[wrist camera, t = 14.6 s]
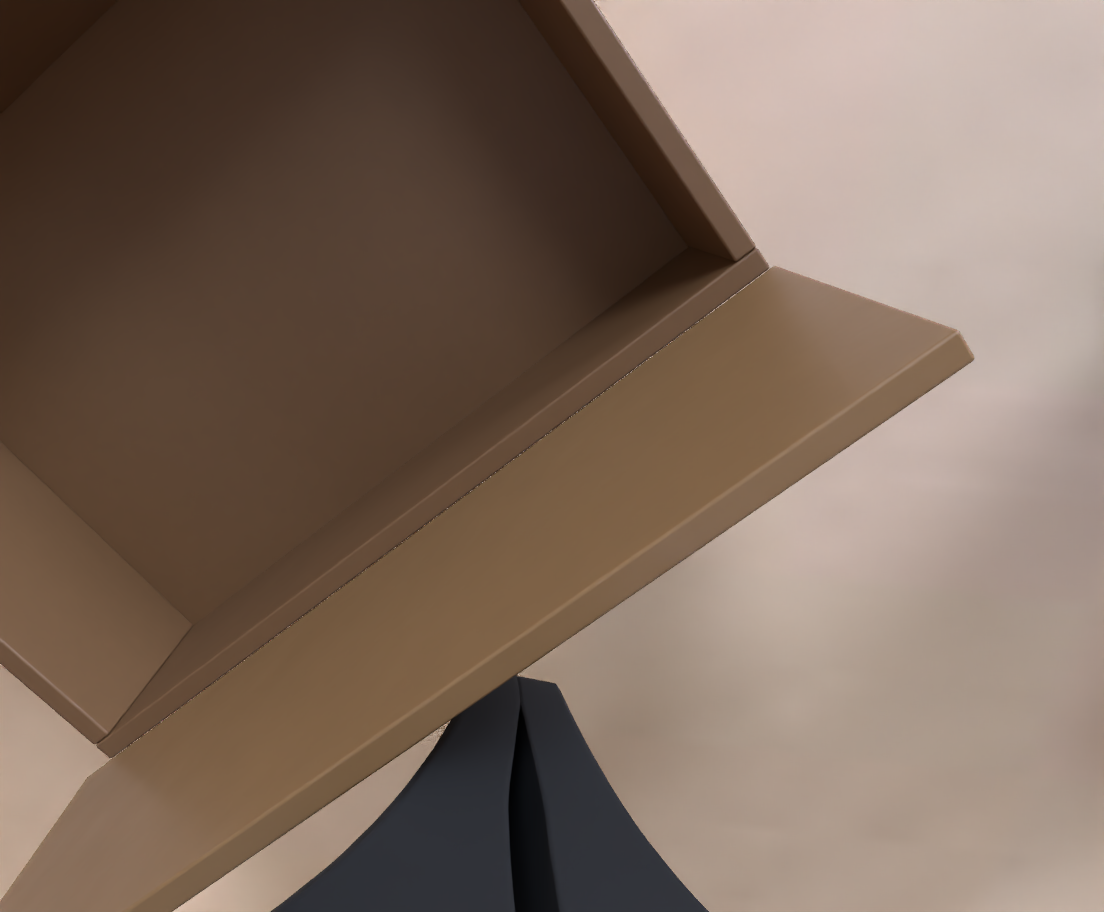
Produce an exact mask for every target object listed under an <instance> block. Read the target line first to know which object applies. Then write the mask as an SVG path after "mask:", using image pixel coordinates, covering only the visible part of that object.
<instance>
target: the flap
mask: <svg viewBox="0 0 1104 912" xmlns="http://www.w3.org/2000/svg"><path fill="white" fill-rule="evenodd" d="M973 360H974V356H973V354H972V352H971V350H970V349H969V347H968V345H967V343H966V342H965V340H964V338H963V337H962V335H961V333H960V332H959V331H958V330H956V329H953V328H950V327H947V326H944V325H941V324H939V323H936V322H933V321H930V320H927V319H924V318H922V317H919V316H916V315H913V314H910V313H907V312H905V311H902V310H899V309H896V308H893V307H890V306H888V305H885V304H882V303H879V302H876V301H873V300H871V299H868V298H865V297H862V296H859V295H856V294H854V293H851V292H848V291H845V290H842V289H839V288H836V287H834V286H831V285H828V284H825V283H822V282H819V281H817V280H814V279H811V278H808V277H805V276H802V275H800V274H797V273H794V272H791V271H788V270H785V269H783V268H780V267H777V266H774V267H772V268H771V269H770V270H768V271H767V272H765V273H764V274H763V275H761V276H760V277H759V278H757V279H756V280H755V281H753V282H752V283H751V284H749V285H748V286H747V287H745V288H744V289H743V290H741V291H740V292H739V293H737V294H736V295H735V296H733V297H732V298H731V299H729V300H728V301H727V302H725V303H724V304H723V305H721V306H720V307H718V308H717V309H716V310H714V311H713V312H712V313H710V314H709V315H708V316H706V317H705V318H704V319H702V320H701V321H700V322H698V323H697V324H696V325H694V326H693V327H692V328H690V329H689V330H688V331H686V332H685V333H684V334H682V335H681V336H680V337H678V338H677V339H676V340H674V341H673V342H671V343H670V344H669V345H667V346H666V347H665V348H663V349H662V350H661V351H659V352H658V353H657V354H655V355H654V356H653V357H651V358H650V359H649V360H647V361H646V362H645V363H643V364H642V365H641V366H639V367H638V368H637V369H635V370H634V371H633V372H631V373H630V374H629V375H627V376H626V377H625V378H623V379H622V380H620V381H619V382H618V383H616V384H615V385H614V386H612V387H611V388H610V389H608V390H607V391H606V392H604V393H603V394H602V395H600V396H599V397H598V398H596V399H595V400H594V401H592V402H591V403H590V404H588V405H587V406H586V407H584V408H583V409H582V410H580V411H579V412H578V413H576V414H575V415H573V416H572V417H571V418H569V419H568V420H567V421H565V422H564V423H563V424H561V425H560V426H559V427H557V428H556V429H555V430H553V431H552V432H551V433H549V434H548V435H547V436H545V437H544V438H543V439H541V440H540V441H539V442H537V443H536V444H535V445H533V446H532V447H531V448H529V449H528V450H526V451H525V452H524V453H522V454H521V455H520V456H518V457H517V458H516V459H514V460H513V461H512V462H510V463H509V464H508V465H506V466H505V467H504V468H502V469H501V470H500V471H498V472H497V473H496V474H494V475H493V476H492V477H490V478H489V479H488V480H486V481H485V482H484V483H482V484H481V485H480V486H478V487H477V488H475V489H474V490H473V491H471V492H470V493H469V494H467V495H466V496H465V497H463V498H462V499H461V500H459V501H458V502H457V503H455V504H454V505H453V506H451V507H450V508H449V509H447V510H446V511H445V512H443V513H442V514H441V515H439V516H438V517H437V518H435V519H434V520H433V521H431V522H430V523H428V524H427V525H426V526H424V527H423V528H422V529H420V530H419V531H418V532H416V533H415V534H414V535H412V536H411V537H410V538H408V539H407V540H406V541H404V542H403V543H402V544H400V545H399V546H398V547H396V548H395V549H394V550H392V551H391V552H390V553H388V554H387V555H386V556H384V557H383V558H381V559H380V560H379V561H377V562H376V563H375V564H373V565H372V566H371V567H369V568H368V569H367V570H365V571H364V572H363V573H361V574H360V575H359V576H357V577H356V578H355V579H353V580H352V581H351V582H349V583H348V584H347V585H345V586H344V587H343V588H341V589H340V590H339V591H337V592H336V593H334V594H333V595H332V596H330V597H329V598H328V599H326V600H325V601H324V602H322V603H321V604H320V605H318V606H317V607H316V608H314V609H313V610H312V611H310V612H309V613H308V614H306V615H305V616H304V617H302V618H301V619H300V620H298V621H297V622H296V623H294V624H293V625H292V626H290V627H289V628H288V629H286V630H285V631H283V632H282V633H281V634H279V635H278V636H277V637H275V638H274V639H273V640H271V641H270V642H269V643H267V644H266V645H265V646H263V647H262V648H261V649H259V650H258V651H257V652H255V653H254V654H253V655H251V656H250V657H249V658H247V659H246V660H245V661H243V662H242V663H241V664H239V665H238V666H236V667H235V668H234V669H232V670H231V671H230V672H228V673H227V674H226V675H224V676H223V677H222V678H220V679H219V680H218V681H216V682H215V683H214V684H212V685H211V686H210V687H208V688H207V689H206V690H204V691H203V692H202V693H200V694H199V695H198V696H196V697H195V698H194V699H192V700H191V701H189V702H188V703H187V704H185V705H184V706H183V707H181V708H180V709H179V710H177V711H176V712H175V713H173V714H172V715H171V716H169V717H168V718H167V719H165V720H164V721H163V722H161V723H160V724H159V725H157V726H156V727H155V728H153V729H152V730H151V731H149V732H148V733H147V734H145V735H144V736H143V737H141V738H140V739H138V740H137V741H136V742H134V743H133V744H132V745H130V746H129V747H128V748H126V749H125V750H124V751H122V752H121V753H120V754H118V755H117V756H116V757H114V758H113V759H112V760H110V761H109V762H108V763H106V764H105V765H104V766H102V767H101V768H100V769H98V770H97V771H96V772H94V773H93V774H91V775H90V776H89V777H87V779H86V780H85V782H84V783H83V785H82V786H81V787H80V789H79V790H78V792H77V793H76V795H75V796H74V797H73V799H72V800H71V802H70V803H69V804H68V806H67V807H66V809H65V810H64V812H63V813H62V814H61V816H60V817H59V819H58V820H57V822H56V823H55V824H54V826H53V827H52V829H51V830H50V831H49V833H48V834H47V836H46V837H45V839H44V840H43V841H42V843H41V844H40V846H39V847H38V849H37V850H36V851H35V853H34V854H33V856H32V857H31V858H30V860H29V861H28V863H27V864H26V866H25V867H24V868H23V870H22V871H21V873H20V874H19V876H18V877H17V878H16V880H15V881H14V883H13V884H12V885H11V887H10V888H9V890H8V891H7V893H6V894H5V895H4V897H3V898H2V900H1V901H0V912H172V911H174V910H175V909H176V908H178V907H179V906H181V905H182V904H184V903H185V902H187V901H188V900H190V899H191V898H192V897H194V896H195V895H197V894H198V893H200V892H201V891H203V890H204V889H206V888H207V887H208V886H210V885H211V884H213V883H214V882H216V881H217V880H219V879H220V878H222V877H223V876H224V875H226V874H227V873H229V872H230V871H232V870H233V869H235V868H236V867H238V866H239V865H240V864H242V863H243V862H245V861H246V860H248V859H249V858H251V857H252V856H254V855H255V854H256V853H258V852H259V851H261V850H262V849H264V848H265V847H267V846H268V845H270V844H271V843H272V842H274V841H275V840H277V839H278V838H280V837H281V836H283V835H284V834H286V833H287V832H288V831H290V830H291V829H293V828H294V827H296V826H297V825H299V824H300V823H302V822H303V821H304V820H306V819H307V818H309V817H310V816H312V815H313V814H315V813H316V812H318V811H319V810H320V809H322V808H323V807H325V806H326V805H328V804H329V803H331V802H332V801H334V800H335V799H336V798H338V797H339V796H341V795H342V794H344V793H345V792H347V791H348V790H350V789H351V788H352V787H354V786H355V785H357V784H358V783H360V782H361V781H363V780H364V779H366V778H367V777H368V776H370V775H371V774H373V773H374V772H376V771H377V770H379V769H380V768H382V767H383V766H385V765H386V764H387V763H389V762H390V761H392V760H393V759H395V758H396V757H398V756H399V755H401V754H402V753H403V752H405V751H406V750H408V749H409V748H411V747H412V746H414V745H415V744H417V743H418V742H419V741H421V740H422V739H424V738H425V737H427V736H428V735H430V734H431V733H433V732H434V731H435V730H437V729H438V728H440V727H441V726H443V725H444V724H446V723H447V722H449V721H450V720H451V719H453V718H454V717H456V716H457V715H459V714H460V713H462V712H463V711H465V710H466V709H467V708H469V707H470V706H472V705H473V704H475V703H476V702H478V701H479V700H481V699H482V698H483V697H485V696H486V695H488V694H489V693H491V692H492V691H494V690H495V689H497V688H498V687H499V686H501V685H502V684H504V683H505V682H507V681H508V680H510V679H511V678H513V677H514V676H515V675H517V674H518V673H520V672H521V671H523V670H524V669H526V668H527V667H529V666H530V665H531V664H533V663H534V662H536V661H537V660H539V659H540V658H542V657H543V656H545V655H546V654H547V653H549V652H550V651H552V650H553V649H555V648H556V647H558V646H559V645H561V644H562V643H563V642H565V641H566V640H568V639H569V638H571V637H572V636H574V635H575V634H577V633H578V632H579V631H581V630H582V629H584V628H585V627H587V626H588V625H590V624H591V623H593V622H594V621H595V620H597V619H598V618H600V617H601V616H603V615H604V614H606V613H607V612H609V611H610V610H611V609H613V608H614V607H616V606H617V605H619V604H620V603H622V602H623V601H625V600H626V599H627V598H629V597H630V596H632V595H633V594H635V593H636V592H638V591H639V590H641V589H642V588H643V587H645V586H646V585H648V584H649V583H651V582H652V581H654V580H655V579H657V578H658V577H659V576H661V575H662V574H664V573H665V572H667V571H668V570H670V569H671V568H673V567H674V566H675V565H677V564H678V563H680V562H681V561H683V560H684V559H686V558H687V557H689V556H690V555H691V554H693V553H694V552H696V551H697V550H699V549H700V548H702V547H703V546H705V545H706V544H707V543H709V542H710V541H712V540H713V539H715V538H716V537H718V536H719V535H721V534H722V533H723V532H725V531H726V530H728V529H729V528H731V527H732V526H734V525H735V524H737V523H738V522H739V521H741V520H742V519H744V518H745V517H747V516H748V515H750V514H751V513H753V512H754V511H755V510H757V509H758V508H760V507H761V506H763V505H764V504H766V503H767V502H769V501H770V500H771V499H773V498H774V497H776V496H777V495H779V494H780V493H782V492H783V491H785V490H786V489H787V488H789V487H790V486H792V485H793V484H795V483H796V482H798V481H799V480H801V479H802V478H803V477H805V476H806V475H808V474H809V473H811V472H812V471H814V470H815V469H817V468H818V467H819V466H821V465H822V464H824V463H825V462H827V461H828V460H830V459H831V458H833V457H834V456H835V455H837V454H838V453H840V452H841V451H843V450H844V449H846V448H847V447H849V446H850V445H851V444H853V443H854V442H856V441H857V440H859V439H860V438H862V437H863V436H865V435H866V434H867V433H869V432H870V431H872V430H873V429H875V428H876V427H878V426H879V425H881V424H882V423H883V422H885V421H886V420H888V419H889V418H891V417H892V416H894V415H895V414H897V413H898V412H900V411H901V410H902V409H904V408H905V407H907V406H908V405H910V404H911V403H913V402H914V401H916V400H917V399H918V398H920V397H921V396H923V395H924V394H926V393H927V392H929V391H930V390H932V389H933V388H934V387H936V386H937V385H939V384H940V383H942V382H943V381H945V380H946V379H948V378H949V377H950V376H952V375H953V374H955V373H956V372H958V371H959V370H961V369H962V368H964V367H965V366H966V365H968V364H969V363H971V362H972V361H973Z"/></svg>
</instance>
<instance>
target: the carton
mask: <svg viewBox="0 0 1104 912" xmlns="http://www.w3.org/2000/svg"><path fill="white" fill-rule="evenodd" d="M768 268H769V265H768V263H767V262H766V260H765V259H764V257H763V256H762V254H761V253H760V251H759V250H758V249H757V248H755V244H754V242H753V241H752V239H751V238H750V236H749V235H748V233H747V232H746V230H745V229H744V227H743V226H742V224H741V223H740V221H739V219H738V218H737V216H736V215H735V213H734V212H733V210H732V209H731V207H730V206H729V204H728V203H727V201H726V200H725V198H724V197H723V195H722V194H721V192H720V191H719V189H718V188H717V186H716V185H715V183H714V182H713V180H712V179H711V177H710V176H709V174H708V173H707V171H706V170H705V168H704V167H703V165H702V164H701V162H700V161H699V159H698V158H697V156H696V155H695V153H694V152H693V150H692V149H691V147H690V146H689V144H688V143H687V141H686V139H685V138H684V136H683V135H682V133H681V132H680V130H679V129H678V127H677V126H676V124H675V123H674V121H673V120H672V118H671V117H670V115H669V114H668V112H667V111H666V109H665V108H664V106H663V105H662V103H661V102H660V100H659V99H658V97H657V96H656V94H655V93H654V91H653V90H652V88H651V87H650V85H649V84H648V82H647V81H646V79H645V78H644V76H643V75H642V73H641V72H640V70H639V69H638V67H637V66H636V64H635V62H634V61H633V59H632V58H631V56H630V55H629V53H628V52H627V50H626V49H625V47H624V46H623V44H622V43H621V41H620V40H619V38H618V37H617V35H616V34H615V32H614V31H613V29H612V28H611V26H610V25H609V23H608V22H607V20H606V19H605V17H604V16H603V14H602V13H601V11H600V10H599V8H598V7H597V5H596V4H595V2H594V1H593V0H0V664H1V665H3V666H4V667H5V668H6V669H7V670H8V671H10V672H11V673H12V674H13V675H14V676H15V677H16V678H18V679H19V680H20V681H21V682H22V683H23V684H25V685H26V686H27V687H28V688H29V689H30V690H32V691H33V692H34V693H35V694H36V695H37V696H39V697H40V698H41V699H42V700H43V701H44V702H45V703H47V704H48V705H49V706H50V707H51V708H52V709H54V710H55V711H56V712H57V713H58V714H59V715H61V716H62V717H63V718H64V719H65V720H66V721H67V722H69V723H70V724H71V725H72V726H73V727H74V728H76V729H77V730H78V731H79V732H80V733H81V734H83V735H84V736H85V737H86V738H87V739H88V740H90V741H91V742H92V743H93V744H97V745H96V746H97V747H98V748H99V749H100V750H101V751H102V752H103V753H105V754H106V755H107V756H108V757H109V758H113V757H114V756H116V755H117V754H118V753H120V752H121V751H122V750H124V749H125V748H126V747H128V746H129V745H130V744H132V743H133V742H134V741H136V740H137V739H138V738H140V737H141V736H142V735H144V734H145V733H146V732H148V731H149V730H151V729H152V728H153V727H155V726H156V725H157V724H159V723H160V722H161V721H163V720H164V719H165V718H167V717H168V716H169V715H171V714H172V713H173V712H175V711H176V710H177V709H179V708H180V707H181V706H183V705H184V704H185V703H187V702H188V701H189V700H191V699H192V698H193V697H195V696H196V695H197V694H199V693H200V692H202V691H203V690H204V689H206V688H207V687H208V686H210V685H211V684H212V683H214V682H215V681H216V680H218V679H219V678H220V677H222V676H223V675H224V674H226V673H227V672H228V671H230V670H231V669H232V668H234V667H235V666H236V665H238V664H239V663H240V662H242V661H243V660H244V659H246V658H247V657H248V656H250V655H251V654H253V653H254V652H255V651H257V650H258V649H259V648H261V647H262V646H263V645H265V644H266V643H267V642H269V641H270V640H271V639H273V638H274V637H275V636H277V635H278V634H279V633H281V632H282V631H283V630H285V629H286V628H287V627H289V626H290V625H291V624H293V623H294V622H295V621H297V620H298V619H299V618H301V617H302V616H304V615H305V614H306V613H308V612H309V611H310V610H312V609H313V608H314V607H316V606H317V605H318V604H320V603H321V602H322V601H324V600H325V599H326V598H328V597H329V596H330V595H332V594H333V593H334V592H336V591H337V590H338V589H340V588H341V587H342V586H344V585H345V584H346V583H348V582H349V581H350V580H352V579H353V578H355V577H356V576H357V575H359V574H360V573H361V572H363V571H364V570H365V569H367V568H368V567H369V566H371V565H372V564H373V563H375V562H376V561H377V560H379V559H380V558H381V557H383V556H384V555H385V554H387V553H388V552H389V551H391V550H392V549H393V548H395V547H396V546H397V545H399V544H400V543H401V542H403V541H404V540H406V539H407V538H408V537H410V536H411V535H412V534H414V533H415V532H416V531H418V530H419V529H420V528H422V527H423V526H424V525H426V524H427V523H428V522H430V521H431V520H432V519H434V518H435V517H436V516H438V515H439V514H440V513H442V512H443V511H444V510H446V509H447V508H448V507H450V506H451V505H452V504H454V503H455V502H457V501H458V500H459V499H461V498H462V497H463V496H465V495H466V494H467V493H469V492H470V491H471V490H473V489H474V488H475V487H477V486H478V485H479V484H481V483H482V482H483V481H485V480H486V479H487V478H489V477H490V476H491V475H493V474H494V473H495V472H497V471H498V470H499V469H501V468H502V467H503V466H505V465H506V464H508V463H509V462H510V461H512V460H513V459H514V458H516V457H517V456H518V455H520V454H521V453H522V452H524V451H525V450H526V449H528V448H529V447H530V446H532V445H533V444H534V443H536V442H537V441H538V440H540V439H541V438H542V437H544V436H545V435H546V434H548V433H549V432H550V431H552V430H553V429H554V428H556V427H557V426H559V425H560V424H561V423H563V422H564V421H565V420H567V419H568V418H569V417H571V416H572V415H573V414H575V413H576V412H577V411H579V410H580V409H581V408H583V407H584V406H585V405H587V404H588V403H589V402H591V401H592V400H593V399H595V398H596V397H597V396H599V395H600V394H601V393H603V392H604V391H605V390H607V389H608V388H610V387H611V386H612V385H614V384H615V383H616V382H618V381H619V380H620V379H622V378H623V377H624V376H626V375H627V374H628V373H630V372H631V371H632V370H634V369H635V368H636V367H638V366H639V365H640V364H642V363H643V362H644V361H646V360H647V359H648V358H650V357H651V356H652V355H654V354H655V353H656V352H658V351H659V350H661V349H662V348H663V347H665V346H666V345H667V344H669V343H670V342H671V341H673V340H674V339H675V338H677V337H678V336H679V335H681V334H682V333H683V332H685V331H686V330H687V329H689V328H690V327H691V326H693V325H694V324H695V323H697V322H698V321H699V320H701V319H702V318H703V317H705V316H706V315H707V314H709V313H710V312H712V311H713V310H714V309H716V308H717V307H718V306H720V305H721V304H722V303H724V302H725V301H726V300H728V299H729V298H730V297H732V296H733V295H734V294H736V293H737V292H738V291H740V290H741V289H742V288H744V287H745V286H746V285H748V284H749V283H750V282H752V281H753V280H754V279H756V278H757V277H758V276H760V275H761V274H763V273H764V272H765V271H767V270H768Z"/></svg>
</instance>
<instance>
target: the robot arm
mask: <svg viewBox="0 0 1104 912" xmlns="http://www.w3.org/2000/svg"><path fill="white" fill-rule="evenodd" d="M271 912H709V911H708V910H707V909H706V908H705V907H704V906H703V905H702V904H701V903H700V902H699V901H698V900H697V899H696V898H695V897H694V896H693V894H692V893H691V892H690V891H689V890H688V889H687V888H686V887H685V885H684V884H683V883H682V882H681V881H680V880H679V879H678V877H677V876H676V875H675V874H674V873H673V871H672V870H671V869H670V868H669V866H668V865H667V864H666V863H665V861H664V860H663V859H662V858H661V857H660V855H659V854H658V853H657V852H656V850H655V849H654V848H653V847H652V845H651V844H650V843H649V842H648V840H647V839H646V838H645V836H644V835H643V833H642V832H641V831H640V829H639V828H638V827H637V825H636V824H635V822H634V821H633V819H632V818H631V816H630V815H629V813H628V812H627V810H626V809H625V807H624V806H623V804H622V803H621V801H620V800H619V798H618V797H617V795H616V793H615V792H614V790H613V789H612V787H611V785H610V784H609V782H608V780H607V778H606V777H605V775H604V773H603V772H602V770H601V768H600V766H599V765H598V763H597V761H596V760H595V758H594V756H593V754H592V752H591V751H590V749H589V747H588V745H587V743H586V741H585V739H584V738H583V736H582V734H581V732H580V730H579V728H578V726H577V724H576V722H575V720H574V718H573V716H572V714H571V712H570V710H569V708H568V706H567V704H566V702H565V700H564V697H563V695H562V693H561V691H560V690H559V688H558V686H557V685H556V684H555V683H550V682H545V681H540V680H535V679H529V678H524V677H519V676H514V677H513V678H511V679H510V680H508V681H507V682H505V683H504V684H502V685H501V686H499V687H498V688H497V689H495V690H494V691H492V692H491V693H489V694H488V695H486V696H485V697H483V698H482V699H481V700H479V701H478V702H476V703H475V704H473V705H472V706H470V707H469V708H467V709H466V710H465V711H463V712H462V713H460V714H459V715H457V716H456V717H454V718H453V719H451V721H450V723H449V724H448V726H447V728H446V729H445V731H444V732H443V734H442V736H441V737H440V739H439V741H438V742H437V744H436V746H435V747H434V749H433V750H432V752H431V753H430V754H429V756H428V757H427V758H426V760H425V761H424V762H423V764H422V765H421V767H420V768H419V769H418V771H417V772H416V773H415V775H414V776H413V777H412V779H411V780H410V781H409V783H408V784H407V785H406V786H405V788H404V789H403V790H402V791H401V793H400V794H399V795H398V796H397V797H396V799H395V800H394V801H393V802H392V803H391V804H390V805H389V807H388V808H387V809H386V810H385V811H384V812H383V813H382V814H381V815H380V816H379V818H378V819H377V820H376V821H375V822H374V823H373V824H372V825H371V826H370V827H369V828H368V829H367V830H366V831H365V832H364V833H363V834H362V835H361V836H360V837H359V838H358V839H357V840H356V841H355V842H354V843H353V844H352V845H351V846H350V847H349V848H348V849H347V850H346V851H344V852H343V853H342V854H341V855H340V856H339V857H338V858H337V859H336V860H335V861H333V862H332V863H331V864H330V865H329V866H328V867H327V868H325V869H324V870H323V871H322V872H320V873H319V874H318V875H317V876H315V877H314V878H313V879H312V880H310V881H309V882H308V883H307V884H305V885H304V886H303V887H302V888H300V889H299V890H298V891H297V892H295V893H294V894H293V895H292V896H290V897H289V898H288V899H287V900H285V901H284V902H283V903H282V904H280V905H279V906H278V907H276V908H275V909H273V910H272V911H271Z"/></svg>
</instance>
